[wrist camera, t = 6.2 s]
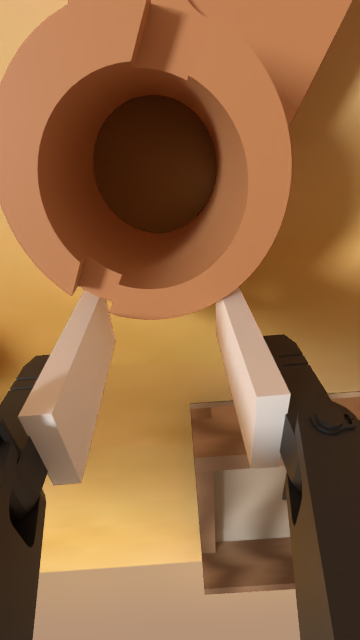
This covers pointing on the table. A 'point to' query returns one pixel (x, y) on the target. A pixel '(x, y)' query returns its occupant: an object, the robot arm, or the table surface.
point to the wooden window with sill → (241, 505)
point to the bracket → (182, 85)
